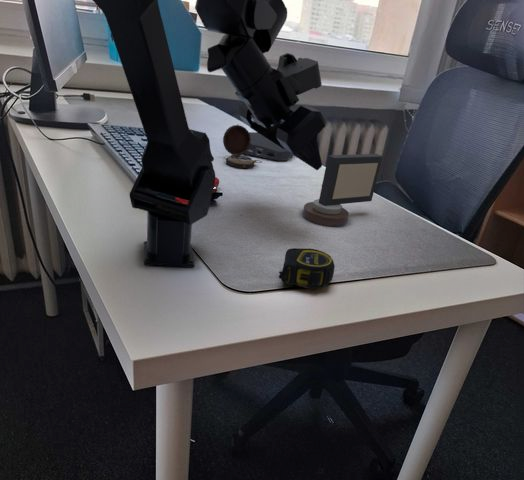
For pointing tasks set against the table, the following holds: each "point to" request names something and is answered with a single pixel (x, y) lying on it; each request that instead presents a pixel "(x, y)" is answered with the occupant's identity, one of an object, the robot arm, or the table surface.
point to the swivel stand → (325, 216)
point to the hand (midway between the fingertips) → (305, 159)
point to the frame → (347, 181)
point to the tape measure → (307, 268)
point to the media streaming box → (266, 148)
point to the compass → (238, 147)
